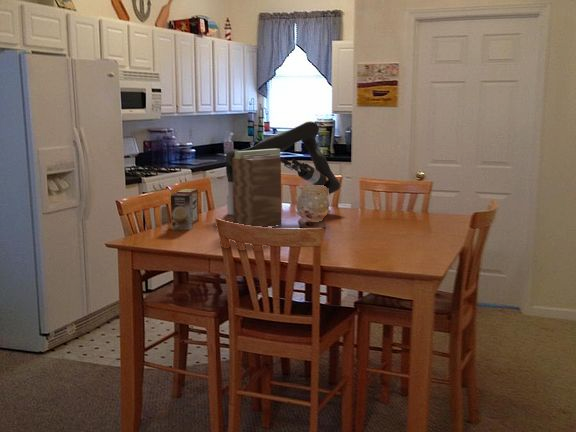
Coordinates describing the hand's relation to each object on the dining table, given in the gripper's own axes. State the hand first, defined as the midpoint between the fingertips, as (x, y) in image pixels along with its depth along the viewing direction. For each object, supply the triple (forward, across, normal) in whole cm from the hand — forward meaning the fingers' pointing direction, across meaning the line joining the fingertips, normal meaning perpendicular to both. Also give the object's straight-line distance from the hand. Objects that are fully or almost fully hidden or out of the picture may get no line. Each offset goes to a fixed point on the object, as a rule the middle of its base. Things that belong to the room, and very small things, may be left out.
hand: (287, 160), depth 313 cm
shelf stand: (+5, +4, +36) cm, 37 cm away
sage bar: (+17, 0, +6) cm, 18 cm away
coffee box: (+31, -13, +51) cm, 61 cm away
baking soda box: (+23, -24, +46) cm, 57 cm away
